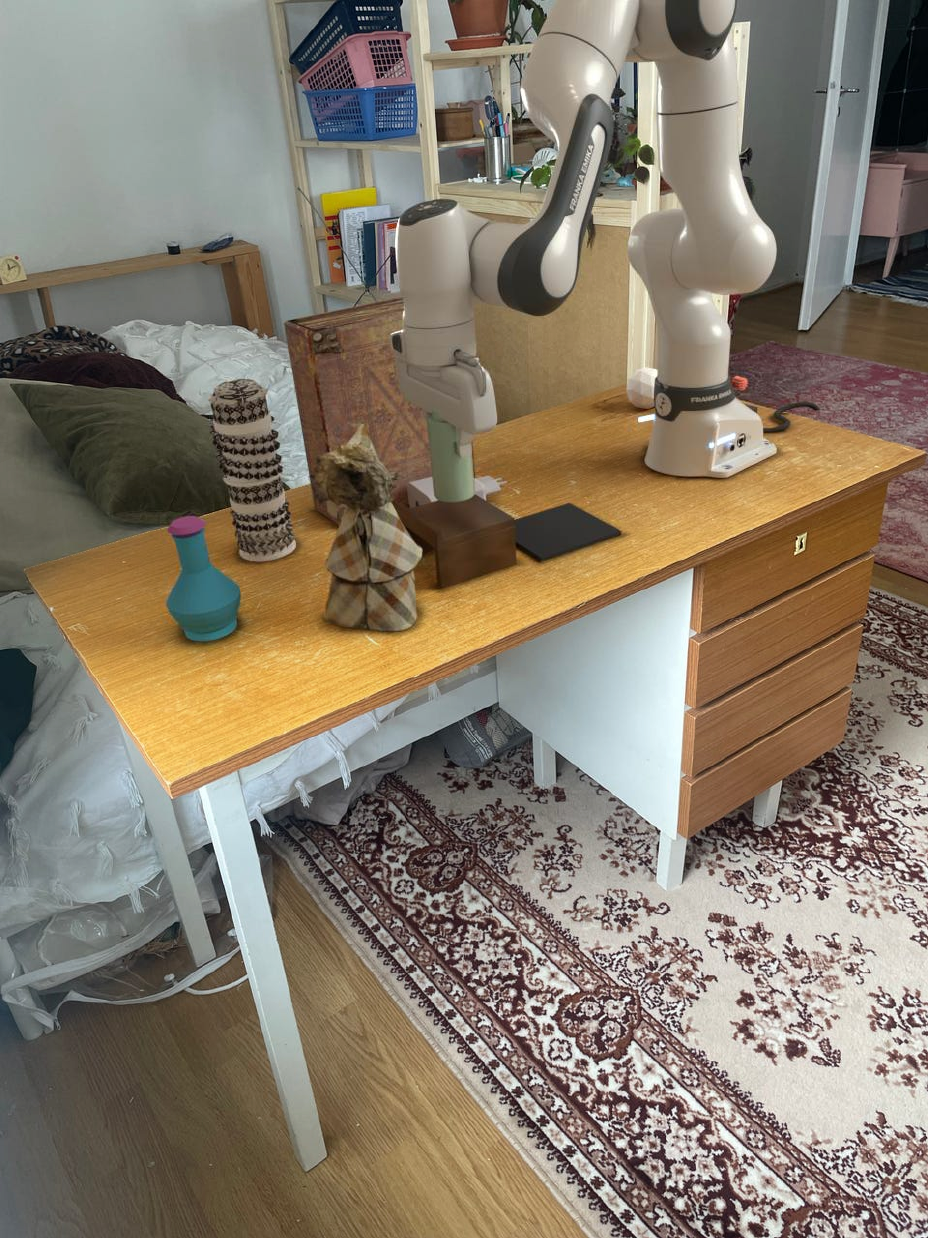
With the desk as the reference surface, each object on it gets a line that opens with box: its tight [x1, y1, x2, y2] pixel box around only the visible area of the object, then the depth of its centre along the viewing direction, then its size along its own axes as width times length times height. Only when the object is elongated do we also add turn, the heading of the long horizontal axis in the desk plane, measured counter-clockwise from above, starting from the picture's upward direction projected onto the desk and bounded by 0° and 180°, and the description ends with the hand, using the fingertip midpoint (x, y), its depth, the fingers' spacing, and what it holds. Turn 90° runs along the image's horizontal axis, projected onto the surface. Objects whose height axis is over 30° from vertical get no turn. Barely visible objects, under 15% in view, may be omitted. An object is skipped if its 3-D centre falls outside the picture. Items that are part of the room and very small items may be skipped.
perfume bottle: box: [165, 515, 242, 642], centre depth 118 cm, size 9×9×15 cm
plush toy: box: [308, 424, 423, 632], centre depth 116 cm, size 14×14×25 cm
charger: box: [407, 475, 508, 508], centre depth 148 cm, size 5×9×15 cm
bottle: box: [426, 409, 475, 502], centre depth 124 cm, size 6×6×16 cm
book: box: [283, 296, 476, 526], centre depth 146 cm, size 25×9×30 cm, turn 123°
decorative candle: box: [207, 378, 297, 563], centre depth 134 cm, size 9×9×25 cm
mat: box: [514, 502, 622, 562], centre depth 138 cm, size 14×13×1 cm
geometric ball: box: [625, 366, 658, 410], centre depth 182 cm, size 8×8×8 cm
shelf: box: [395, 494, 518, 590], centre depth 131 cm, size 12×12×8 cm
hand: (450, 448), depth 125 cm, fingers closed on bottle, 5 cm apart
